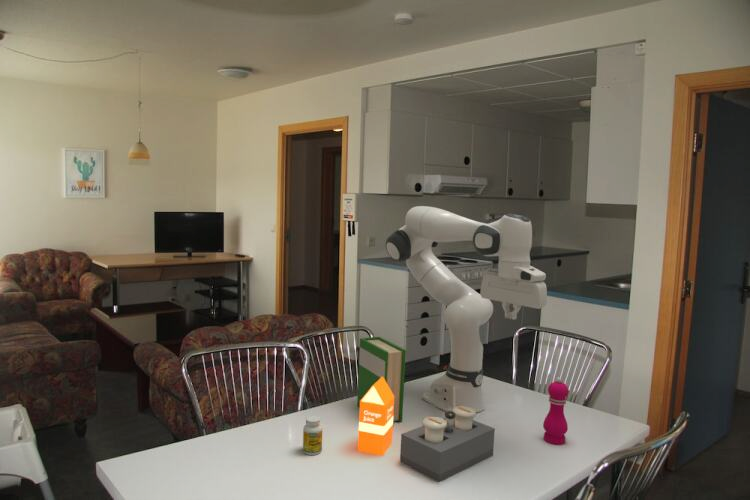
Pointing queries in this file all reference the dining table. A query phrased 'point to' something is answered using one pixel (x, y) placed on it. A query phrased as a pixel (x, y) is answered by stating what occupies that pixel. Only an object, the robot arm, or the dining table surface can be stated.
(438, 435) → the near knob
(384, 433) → the orange juice
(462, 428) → the cream lidded cup
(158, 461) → the dining table surface
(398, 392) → the hardback book
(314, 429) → the supplement bottle
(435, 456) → the mount
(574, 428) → the dining table surface
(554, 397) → the pepper mill
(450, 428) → the small glass shaker
